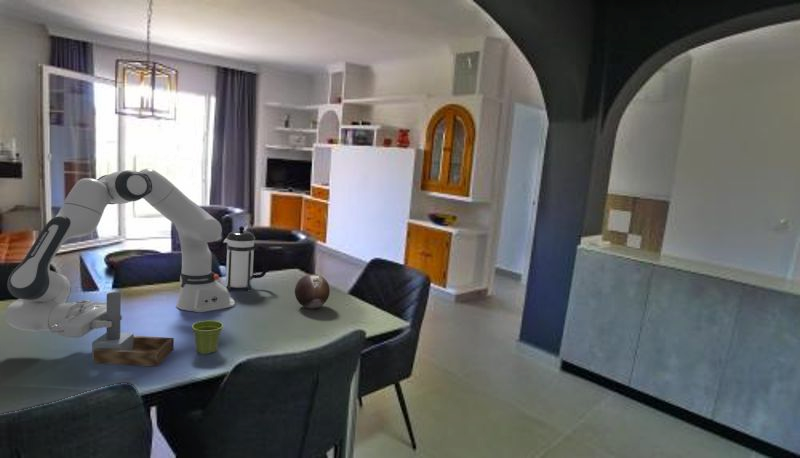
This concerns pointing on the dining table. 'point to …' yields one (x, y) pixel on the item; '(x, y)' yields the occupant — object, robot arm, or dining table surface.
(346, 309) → the dining table surface
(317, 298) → the brown ball
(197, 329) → the plant pot
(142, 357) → the bay
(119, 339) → the gray post
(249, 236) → the coffee press
